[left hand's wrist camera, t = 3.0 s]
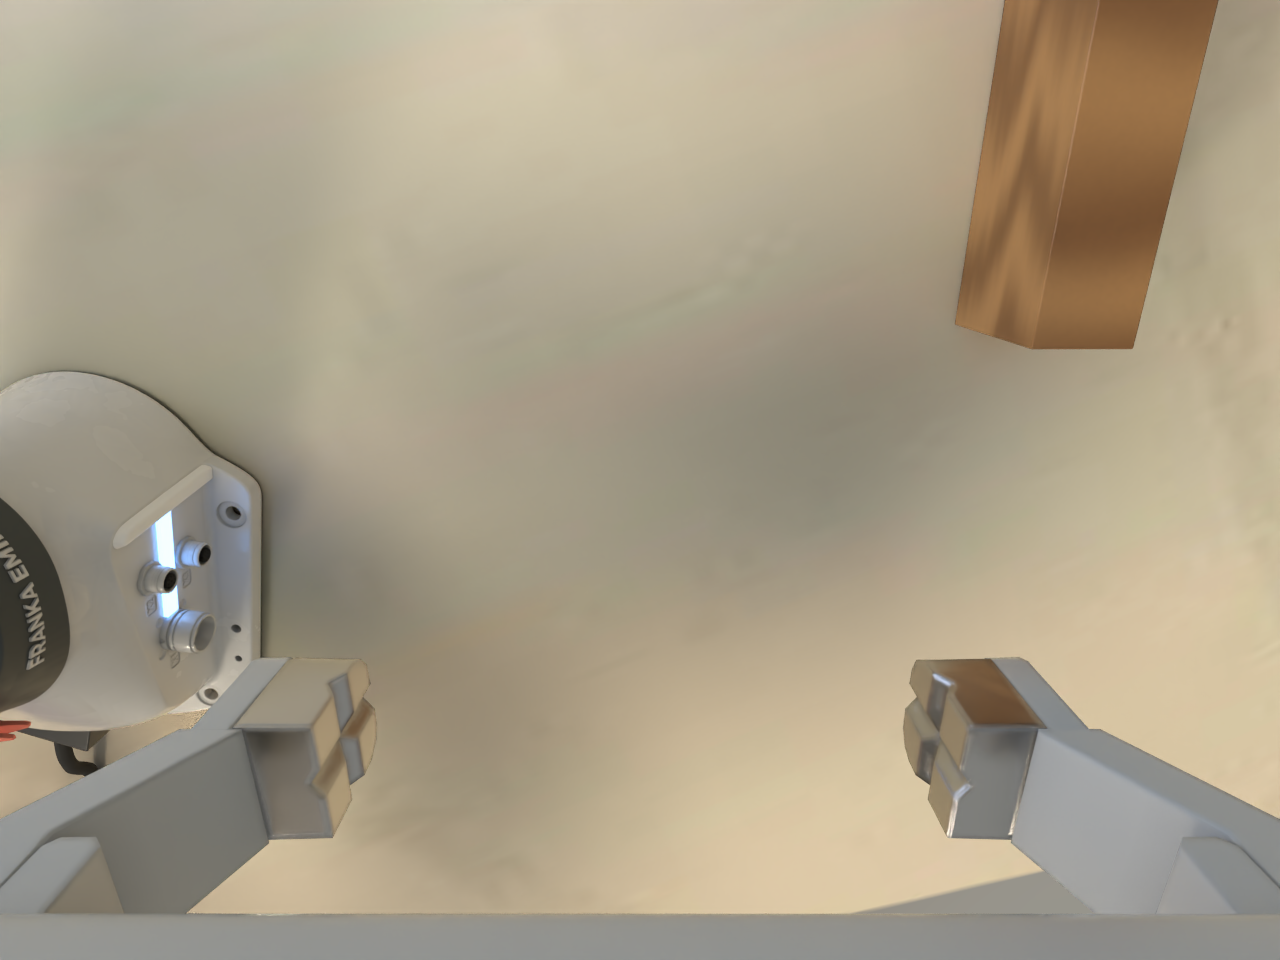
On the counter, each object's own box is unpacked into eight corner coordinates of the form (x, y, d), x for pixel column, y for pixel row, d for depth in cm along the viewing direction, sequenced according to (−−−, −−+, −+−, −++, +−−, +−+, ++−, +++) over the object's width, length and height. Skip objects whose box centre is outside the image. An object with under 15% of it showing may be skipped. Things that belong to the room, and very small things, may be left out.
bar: (1036, 324, 38) (1133, 349, 30) (954, 324, 38) (1031, 349, 30) (1169, -356, 28) (1356, -560, 21) (1059, -356, 28) (1207, -560, 21)
